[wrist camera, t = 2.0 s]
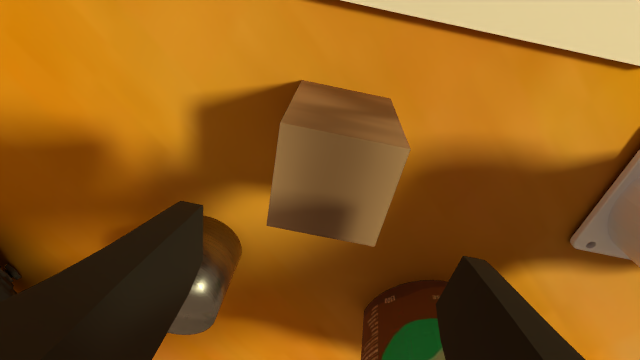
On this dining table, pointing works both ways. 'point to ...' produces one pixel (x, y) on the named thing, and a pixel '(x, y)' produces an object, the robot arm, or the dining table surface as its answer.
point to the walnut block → (336, 164)
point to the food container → (404, 323)
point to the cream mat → (539, 21)
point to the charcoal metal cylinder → (209, 279)
